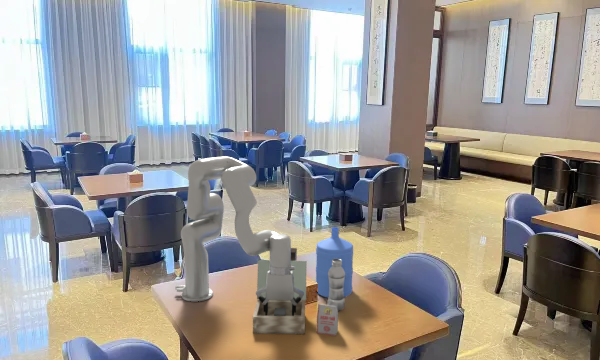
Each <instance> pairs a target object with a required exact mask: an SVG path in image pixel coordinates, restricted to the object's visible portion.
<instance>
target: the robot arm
mask: <svg viewBox="0 0 600 360" xmlns="http://www.w3.org/2000/svg"><path fill="white" fill-rule="evenodd" d="M187 178H188V188H187V189H188V191H187V202H186V204H187V205H186V212H187V213H186V214H187V217H188V219H190V220H192V221H191V222H188V223H187V224H185V225H183V226H182V228H181V231H180V237H181V242H182V247H183V257H184V258H183V260H184V279H185V280H184V281H185V282H184V284H183V285H179V284H178V285H177V284H176V285H175V291H176V292H177V293H181V292H182V293H181V298H182V299H183V301H186V302H190V301H191V303H194V302H196V303H197V302H198V301H199V302H203V301H207V300H209V299H211V298H212V297H213V295H214V291H213V290H212V289H211V288H210V283H209V282H210V280H209V279H210V278H209V277H210V276H209V273H210V271H209V254H208V251H207V248H206V247H205V246H204V244H205V243H207V242H211V241H213V240H217V238H219V237H220V235H221V232H222V229H223V222H224V209H225V206H224V201H223V199H222V197H221V196H220V194H218V193H214V192H211V184H210V181H213V180H214V181H215V180H219V179H220V180H221V183H222V185H223V188H224V190H225V192H226V194H227V196H228V198H229V200H230V203H231V204H232V207H233V208H234V210H235V217H234V233H235V235H236V238H237V241H238V243H239V244H240V247H241V248H242V249H243V252H245V254H247V256H251V257H256V256H259V255H261V254H263V253H266V252H269V260H270V264H269V271H268V273H267V279H266V287H264V288H262V289H260V290H258V291H257V290H256V291H255V296H256V298H257V297H258V298H259V299H258V300H260V301H261V302H262V303H263V305H264V312H265V315H267V314H268V301H269V300H280V301H291V302H292V316H294V313H296V305H297V303H299V302H300V301H302V300H301V299H302V297H303V295H304V292H303V291H301V290H299V289H297V288H295V287H294V277H293V272H292V271H291V270H295V266H291V248H292V246H291V245H292V244H291V243H292V240H291V237H290V236H289V235H288V234H285V233H278V232H276V231H274V230H272V229H263V230H260V231H258V232H253V230H252V227H251V224H250V215H251V212H252V210H253V209H254V208H255V207H256V205H257V203H258V202H257V199H256V197H255V195H254V193H253V191H252V189H251V187H252V186H254V185H255V183H256V181H257V174H256V171H255V170H254V168H253V167H252V166H251V165H248V164H247V163H244V162H242V161H241V160H238V159H236V158H234V157H230V156H226V155H225V156H224V155H223V156H216V157H213V156H212V157H207V158H201V159H197V160H194V161H193V162H192V163H191V164H190V165H189V167H188V170H187ZM263 292H266V297H265V298H264V297H263V296H262V295H261V293H263ZM294 292H295V293H297V294H299V296H298V297H297V298H295V297H294ZM199 302H198V303H199Z"/></svg>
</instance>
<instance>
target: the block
mask: <svg viewBox="0 0 600 360" xmlns="http://www.w3.org/2000/svg"><path fill="white" fill-rule="evenodd" d="M274 316H286V308H275V311H274Z"/></svg>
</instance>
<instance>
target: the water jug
mask: <svg viewBox="0 0 600 360" xmlns="http://www.w3.org/2000/svg"><path fill="white" fill-rule="evenodd" d="M339 230H340V227H337V226H334V227H333V226H332V227H331V235H330V236H329V237H328V238H325V239H322V240H320V241H318V242H317V243H316V248H315V254H316V259H315V260H316V261H315V262H316V264H315V265H316V266H315V273H316V274H315V283H316V282H317V283H318V293H317V294H318V295H320V296H321V297H323V298H327V299H328V297H329V278H328V271H329V269H330V268H331V267H332V260H333V259H341V260H342V266H341V267H342V268H343V270H344V272H345V278H344V286H343V294H344V298H346V297H348V296H350V295H351V294H352V293H353V273H354V268H353V267H354V266H353V263H354V262H353V259H354V245H353V243H351V242H350V241H348V240H346V239H343V238H341V237H340V236H339V234H340V232H339Z"/></svg>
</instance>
